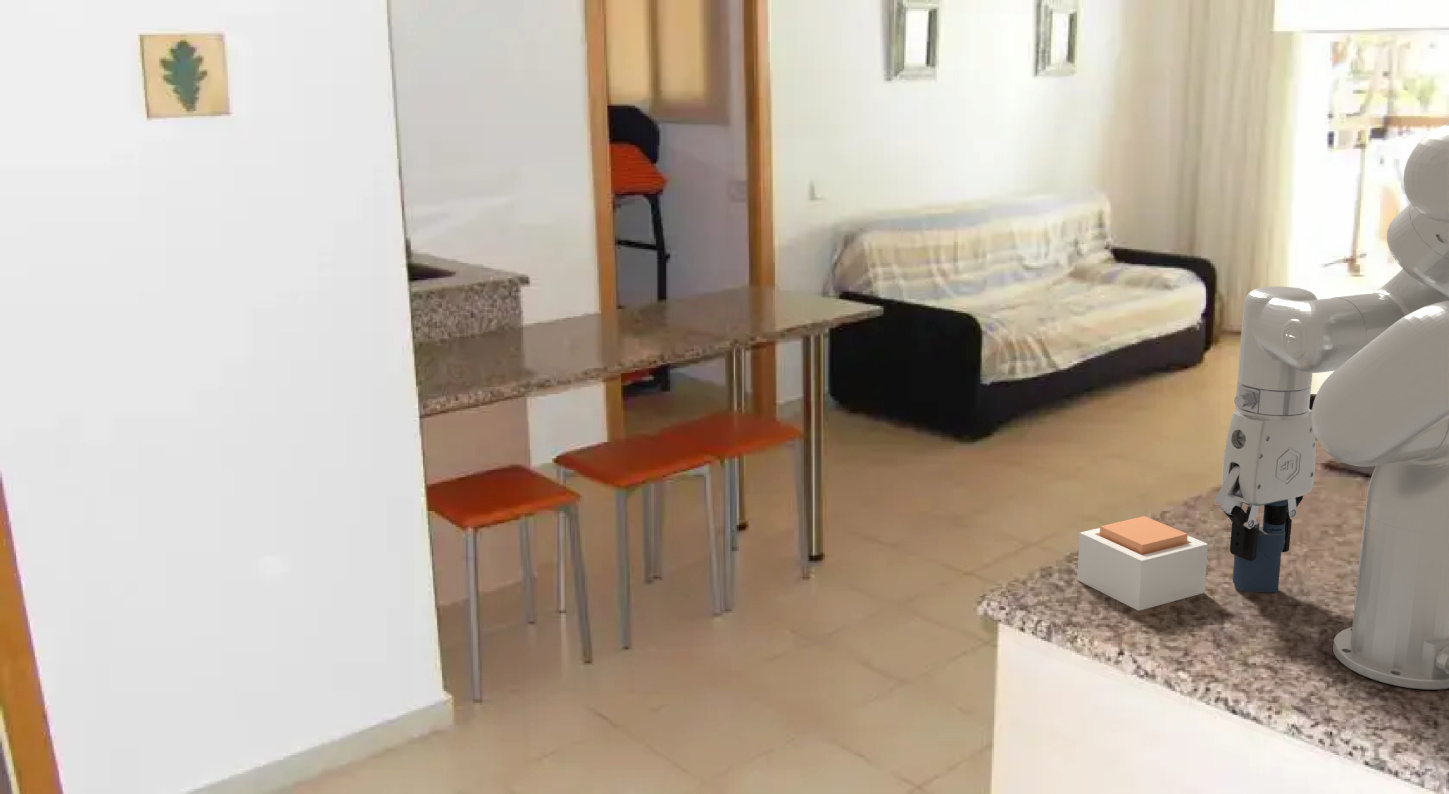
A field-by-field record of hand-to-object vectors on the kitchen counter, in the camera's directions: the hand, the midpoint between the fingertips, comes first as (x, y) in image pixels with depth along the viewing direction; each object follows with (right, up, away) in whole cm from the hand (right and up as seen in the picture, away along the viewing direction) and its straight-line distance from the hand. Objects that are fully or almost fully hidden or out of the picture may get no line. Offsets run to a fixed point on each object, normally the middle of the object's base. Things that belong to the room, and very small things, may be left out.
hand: (1259, 551), depth 145 cm
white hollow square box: (-13, -4, +3) cm, 14 cm away
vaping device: (0, -5, +1) cm, 5 cm away
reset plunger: (-13, -1, +2) cm, 13 cm away
